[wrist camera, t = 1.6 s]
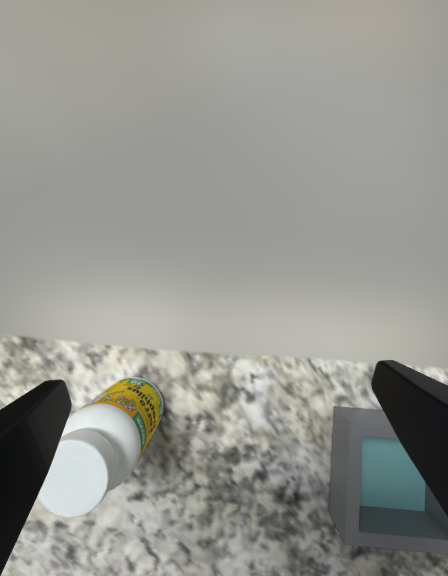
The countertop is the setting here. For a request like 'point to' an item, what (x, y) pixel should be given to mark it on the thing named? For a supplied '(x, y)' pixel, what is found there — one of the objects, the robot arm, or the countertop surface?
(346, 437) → the grey square tray
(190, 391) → the countertop surface
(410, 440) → the robot arm
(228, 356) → the countertop surface
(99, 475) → the supplement bottle
